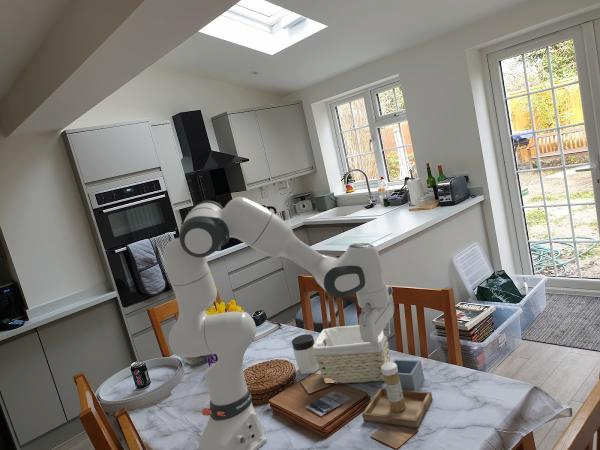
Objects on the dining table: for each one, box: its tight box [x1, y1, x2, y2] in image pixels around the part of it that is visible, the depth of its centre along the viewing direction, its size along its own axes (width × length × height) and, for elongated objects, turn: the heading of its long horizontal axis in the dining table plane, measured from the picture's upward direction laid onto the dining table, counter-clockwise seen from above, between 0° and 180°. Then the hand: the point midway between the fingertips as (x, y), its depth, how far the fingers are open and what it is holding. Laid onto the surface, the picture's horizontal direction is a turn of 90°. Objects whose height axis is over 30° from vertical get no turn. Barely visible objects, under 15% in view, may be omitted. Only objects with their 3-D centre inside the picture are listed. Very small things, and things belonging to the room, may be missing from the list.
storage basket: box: [313, 324, 391, 384], centre depth 160 cm, size 24×16×15 cm
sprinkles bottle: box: [381, 361, 406, 412], centre depth 134 cm, size 5×5×13 cm
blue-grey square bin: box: [392, 358, 425, 391], centre depth 146 cm, size 9×9×6 cm
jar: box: [291, 333, 320, 375], centre depth 172 cm, size 9×8×12 cm
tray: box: [361, 387, 434, 430], centre depth 134 cm, size 14×16×2 cm
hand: (382, 342), depth 135 cm, fingers open, 8 cm apart
